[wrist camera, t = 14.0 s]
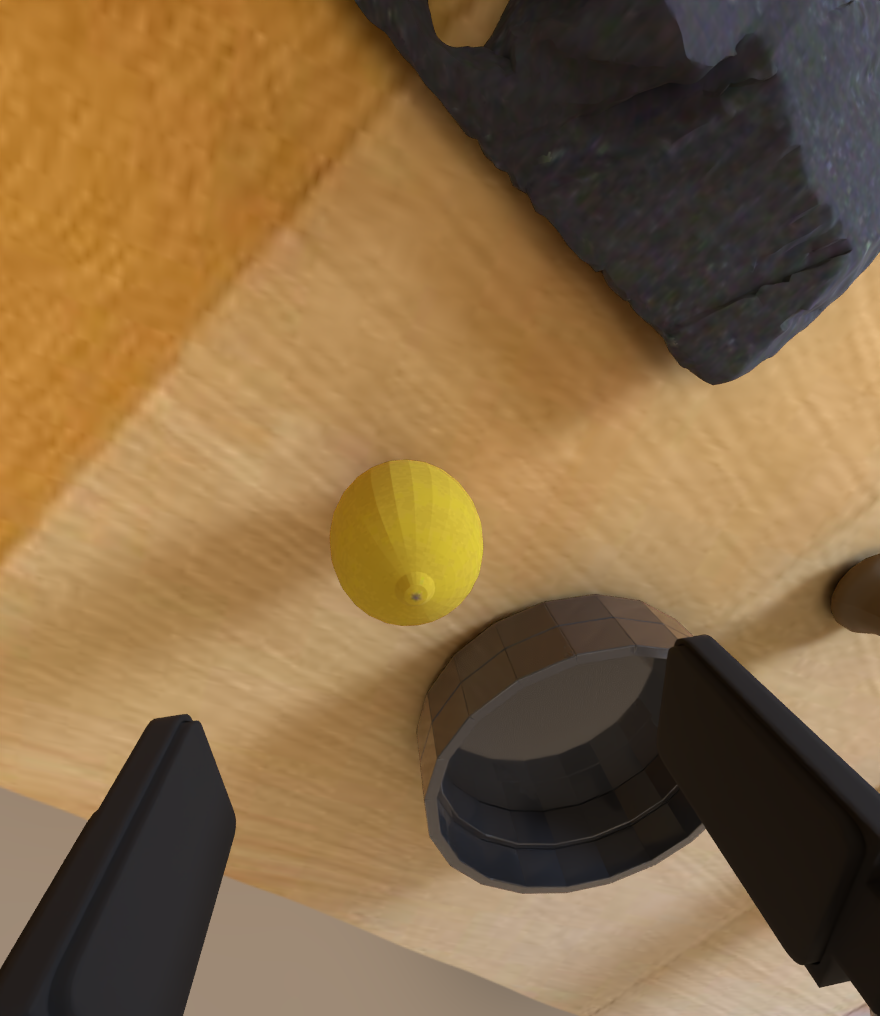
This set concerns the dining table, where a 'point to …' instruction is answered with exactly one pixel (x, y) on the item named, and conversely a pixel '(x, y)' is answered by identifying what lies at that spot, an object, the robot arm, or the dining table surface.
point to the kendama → (859, 597)
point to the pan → (554, 749)
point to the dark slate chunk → (682, 150)
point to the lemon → (406, 542)
